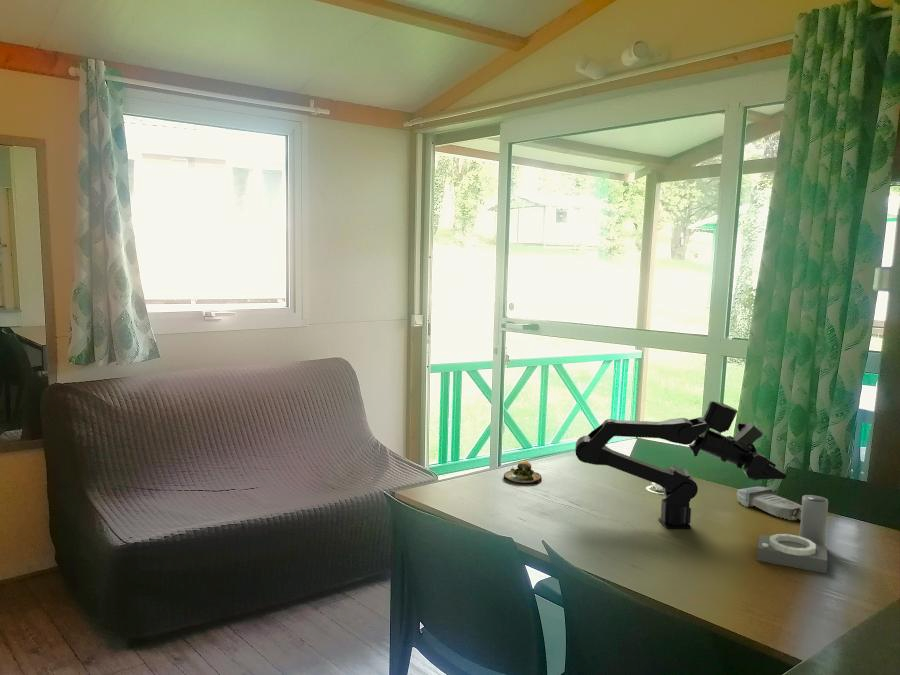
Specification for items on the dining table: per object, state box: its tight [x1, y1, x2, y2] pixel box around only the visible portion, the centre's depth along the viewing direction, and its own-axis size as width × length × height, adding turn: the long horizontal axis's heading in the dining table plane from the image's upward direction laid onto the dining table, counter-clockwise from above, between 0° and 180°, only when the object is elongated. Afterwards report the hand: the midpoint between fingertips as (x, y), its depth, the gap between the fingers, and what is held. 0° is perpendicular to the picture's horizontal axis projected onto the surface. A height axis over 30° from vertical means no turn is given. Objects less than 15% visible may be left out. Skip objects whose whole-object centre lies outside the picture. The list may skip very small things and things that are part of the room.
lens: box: [799, 494, 829, 546], centre depth 164 cm, size 6×6×12 cm
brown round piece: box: [503, 460, 543, 485], centre depth 214 cm, size 12×12×8 cm
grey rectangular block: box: [756, 533, 828, 575], centre depth 157 cm, size 14×9×4 cm
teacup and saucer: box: [645, 482, 664, 495], centre depth 206 cm, size 9×8×4 cm
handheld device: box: [736, 486, 802, 521], centre depth 189 cm, size 10×20×5 cm, turn 25°
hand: (780, 471), depth 172 cm, fingers open, 9 cm apart
